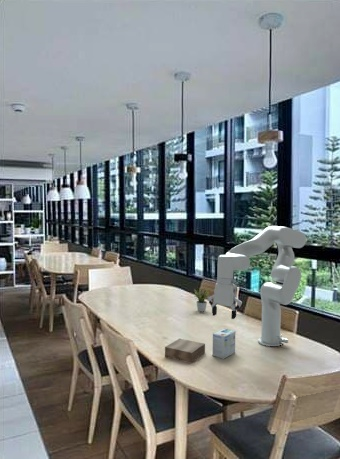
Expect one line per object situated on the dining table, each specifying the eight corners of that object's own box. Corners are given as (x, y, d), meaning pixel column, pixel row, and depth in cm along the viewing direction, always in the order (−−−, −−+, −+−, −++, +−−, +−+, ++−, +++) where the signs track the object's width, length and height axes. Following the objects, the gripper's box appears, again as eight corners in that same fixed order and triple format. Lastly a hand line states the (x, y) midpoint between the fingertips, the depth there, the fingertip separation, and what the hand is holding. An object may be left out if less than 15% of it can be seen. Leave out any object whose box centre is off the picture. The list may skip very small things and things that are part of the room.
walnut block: (204, 353, 185) (205, 343, 185) (191, 363, 173) (191, 352, 172) (179, 348, 192) (179, 338, 192) (164, 357, 180) (165, 346, 179)
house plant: (213, 308, 269) (214, 285, 268) (214, 313, 255) (214, 289, 255) (193, 307, 270) (193, 284, 270) (192, 313, 257) (192, 288, 256)
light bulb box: (223, 349, 190) (224, 327, 189) (235, 352, 186) (236, 330, 185) (211, 355, 182) (212, 333, 181) (224, 359, 177) (224, 336, 177)
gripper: (245, 282, 181) (244, 318, 181) (211, 278, 190) (210, 312, 190) (239, 284, 174) (238, 321, 175) (205, 280, 183) (203, 315, 184)
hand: (223, 316), depth 183 cm, fingers open, 9 cm apart
